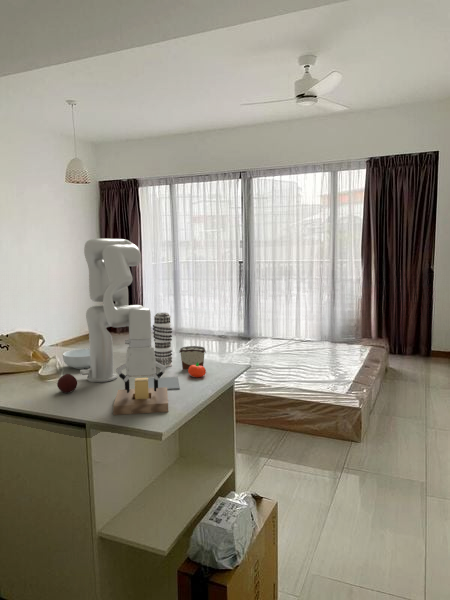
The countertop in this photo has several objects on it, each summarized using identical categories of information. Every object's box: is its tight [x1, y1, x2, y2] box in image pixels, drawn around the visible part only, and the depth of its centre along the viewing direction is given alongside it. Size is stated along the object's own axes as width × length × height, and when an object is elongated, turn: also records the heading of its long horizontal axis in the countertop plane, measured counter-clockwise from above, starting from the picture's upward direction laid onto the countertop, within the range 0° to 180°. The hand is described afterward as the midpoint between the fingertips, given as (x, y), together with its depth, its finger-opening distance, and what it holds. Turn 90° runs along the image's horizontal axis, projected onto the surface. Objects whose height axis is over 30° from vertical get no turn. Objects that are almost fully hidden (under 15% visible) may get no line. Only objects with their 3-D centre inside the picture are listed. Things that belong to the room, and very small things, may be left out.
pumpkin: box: [187, 363, 207, 378], centre depth 190 cm, size 7×8×6 cm
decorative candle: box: [152, 312, 173, 368], centre depth 209 cm, size 9×9×25 cm
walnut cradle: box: [112, 387, 169, 416], centre depth 155 cm, size 18×18×3 cm
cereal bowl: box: [62, 348, 90, 370], centre depth 208 cm, size 17×17×7 cm
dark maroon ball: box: [56, 373, 78, 394], centre depth 169 cm, size 7×8×7 cm
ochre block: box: [134, 377, 149, 399], centre depth 155 cm, size 4×4×9 cm
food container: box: [178, 345, 207, 371], centre depth 203 cm, size 12×6×10 cm, turn 84°
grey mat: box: [147, 376, 180, 391], centre depth 179 cm, size 16×16×1 cm
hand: (141, 390), depth 155 cm, fingers open, 9 cm apart
